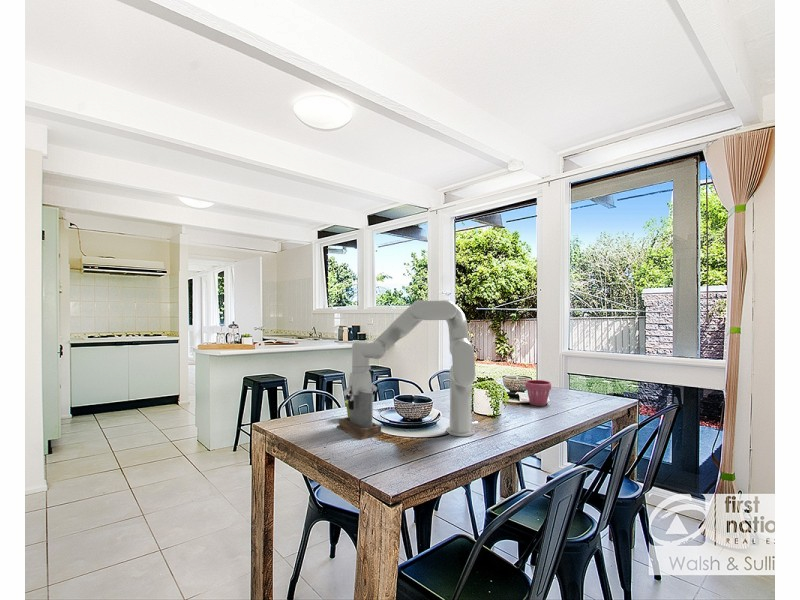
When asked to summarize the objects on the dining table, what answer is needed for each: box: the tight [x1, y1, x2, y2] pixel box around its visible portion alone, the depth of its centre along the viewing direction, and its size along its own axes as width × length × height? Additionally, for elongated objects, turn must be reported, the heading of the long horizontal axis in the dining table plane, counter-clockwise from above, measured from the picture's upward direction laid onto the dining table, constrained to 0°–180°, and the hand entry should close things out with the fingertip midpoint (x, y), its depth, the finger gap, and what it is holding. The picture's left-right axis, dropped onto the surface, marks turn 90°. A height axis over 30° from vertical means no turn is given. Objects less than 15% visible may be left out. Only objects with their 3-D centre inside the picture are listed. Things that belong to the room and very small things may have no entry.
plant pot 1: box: [344, 399, 350, 417], centre depth 209 cm, size 9×9×9 cm
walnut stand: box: [336, 416, 384, 440], centre depth 190 cm, size 12×20×4 cm, turn 37°
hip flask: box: [350, 390, 374, 429], centre depth 190 cm, size 16×4×20 cm, turn 38°
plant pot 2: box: [524, 379, 552, 407], centre depth 245 cm, size 14×14×13 cm
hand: (360, 407), depth 190 cm, fingers open, 9 cm apart
